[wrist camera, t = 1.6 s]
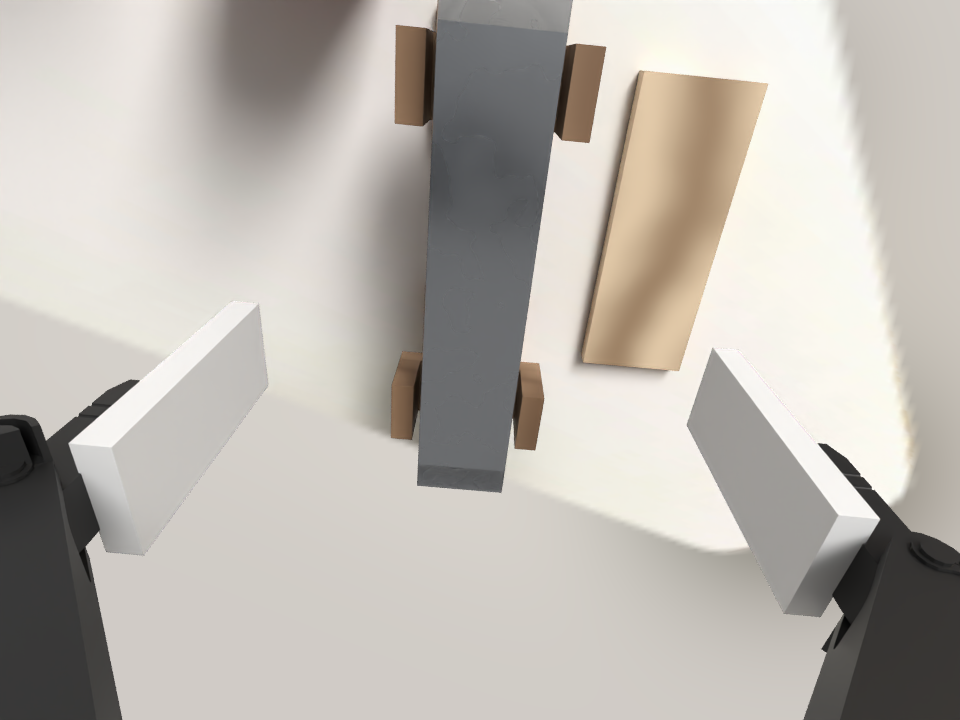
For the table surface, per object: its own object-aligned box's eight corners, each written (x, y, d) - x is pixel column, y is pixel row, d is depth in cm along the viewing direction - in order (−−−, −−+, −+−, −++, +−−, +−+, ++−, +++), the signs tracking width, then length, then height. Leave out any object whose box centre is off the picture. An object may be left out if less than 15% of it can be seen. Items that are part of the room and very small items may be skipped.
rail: (426, 434, 29) (417, 485, 25) (449, -16, 19) (439, -33, 16) (500, 440, 29) (501, 492, 26) (560, -4, 19) (575, -19, 16)
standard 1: (415, 367, 35) (390, 462, 27) (418, 280, 32) (391, 356, 24) (522, 376, 35) (531, 474, 27) (535, 291, 32) (549, 370, 24)
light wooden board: (581, 354, 34) (583, 362, 33) (639, 70, 27) (644, 70, 26) (674, 363, 34) (678, 371, 34) (759, 82, 27) (768, 83, 26)
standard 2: (423, 136, 28) (394, 167, 20) (428, -1, 25) (396, -31, 17) (556, 149, 28) (581, 185, 20) (576, 15, 25) (616, -8, 17)
